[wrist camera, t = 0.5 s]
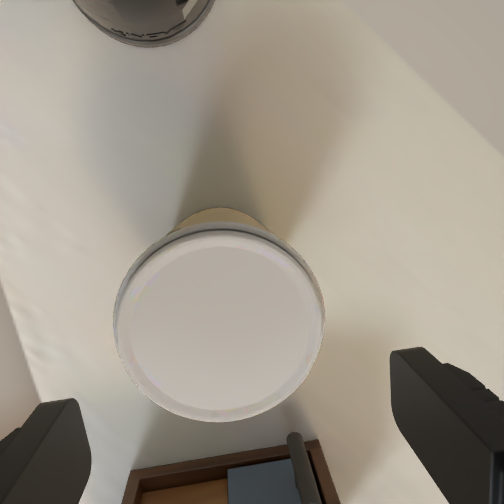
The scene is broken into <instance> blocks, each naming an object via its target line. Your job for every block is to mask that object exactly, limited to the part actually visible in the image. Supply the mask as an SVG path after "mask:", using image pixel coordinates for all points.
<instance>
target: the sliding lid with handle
mask: <svg viewBox="0 0 504 504" xmlns="http://www.w3.org/2000/svg"><path fill="white" fill-rule="evenodd" d="M286 440H287V445H288V449H289V453H290V457H291V459H285V460H279V461H273V462H268V463H262V464H256V465H250V466H244V467H238V468H232V469H228V504H322V502H321V499H320V496H319V492H318V489H317V485H316V482H315V479H314V475H313V472H312V469H311V465H310V462H309V459H308V455H307V452H306V448H305V445H304V442H303V438H302V436H301V434H300V433H298V432H292V433H290V434H289V435H288V436H287V439H286Z"/></svg>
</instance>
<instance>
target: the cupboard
mask: <svg viewBox="0 0 504 504" xmlns="http://www.w3.org/2000/svg"><path fill="white" fill-rule="evenodd" d="M304 445H305V448H306V452H307V455H308V459H309V462H310V465H311V469H312V472H313V475H314V479H315V482H316V485H317V489H318V492H319V496H320V499H321V502H322V504H341V503H340V500H339V497H338V495H337V492H336V489H335V486H334V483H333V480H332V478H331V475H330V472H329V469H328V466H327V463H326V460H325V458H324V455H323V452H322V449H321V446H320V443H319V440H313V441H307V442H304ZM285 459H291V457H290V453H289V449H288V445H283V446H277V447H271V448H265V449H259V450H253V451H247V452H241V453H235V454H229V455H223V456H217V457H211V458H205V459H199V460H194V461H188V462H182V463H176V464H170V465H164V466H158V467H152V468H146V469H140V470H134V471H130V474H129V478H128V482H127V485H126V489H125V492H124V496H123V500H122V503H121V504H228V469H232V468H238V467H244V466H250V465H256V464H262V463H268V462H273V461H279V460H285Z"/></svg>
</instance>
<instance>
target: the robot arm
mask: <svg viewBox="0 0 504 504" xmlns="http://www.w3.org/2000/svg"><path fill="white" fill-rule="evenodd" d="M73 1H74V3H75V4H76V6H77V7H78V8H79V9H80V11H81V12H82V13H83V14H84V15H85V16H86V17H87V18H88V19H89V20H90V21H91V22H92V23H93V24H94V25H95V26H96V27H97V28H98V29H100V30H101V31H102V32H104V33H105V34H107V35H109V36H110V37H112V38H114V39H116V40H118V41H121V42H123V43H126V44H129V45H133V46H139V47H158V46H164V45H168V44H171V43H174V42H176V41H178V40H180V39H182V38H184V37H185V36H187V35H188V34H190V33H191V32H192V31H193V30H195V29H196V28H197V27H198V26H199V25H200V24H201V22H202V21H203V20H204V18H205V17H206V16H207V14H208V12H209V11H210V9H211V7H212V5H213V3H214V0H73ZM390 382H391V406H392V412H393V416H394V419H395V422H396V424H397V426H398V428H399V430H400V432H401V433H402V435H403V436H404V437H405V439H406V440H407V442H408V443H409V445H410V446H411V448H412V449H413V451H414V452H415V454H416V455H417V457H418V458H419V460H420V461H421V462H422V464H423V465H424V467H425V468H426V470H427V471H428V473H429V474H430V476H431V477H432V479H433V480H434V482H435V483H436V485H437V486H438V488H439V489H440V490H441V492H442V493H443V495H444V496H445V498H446V499H447V501H448V502H449V504H504V402H503V401H500V400H499V397H497V396H496V395H495V394H494V393H493V392H491V391H490V390H489V389H486V388H485V386H484V385H483V384H482V383H481V382H479V381H478V380H477V379H476V378H475V377H473V376H472V375H471V374H470V373H468V372H466V371H464V370H462V369H460V368H457V367H455V366H453V365H451V364H449V363H445V364H442V363H441V362H439V361H438V360H437V359H436V358H435V357H434V356H433V355H432V354H430V353H429V352H428V351H427V350H426V349H425V348H423V347H416V348H409V349H402V350H396V351H392V352H391V354H390ZM90 471H91V450H90V446H89V442H88V438H87V434H86V430H85V426H84V423H83V419H82V415H81V411H80V407H79V404H78V402H77V400H75V399H74V398H70V399H64V400H57V401H50V402H44V403H40V404H39V405H38V406H37V407H36V409H35V410H34V411H33V413H32V414H31V415H30V417H29V418H28V419H27V420H26V422H25V423H24V424H23V426H22V427H21V428H16V429H15V430H14V431H13V432H11V433H10V434H9V435H8V436H6V437H5V438H4V439H2V440H1V441H0V504H78V503H79V501H80V498H81V496H82V494H83V491H84V489H85V486H86V484H87V482H88V479H89V476H90Z"/></svg>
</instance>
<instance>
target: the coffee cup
mask: <svg viewBox="0 0 504 504" xmlns="http://www.w3.org/2000/svg"><path fill="white" fill-rule="evenodd" d="M324 328H325V308H324V302H323V297H322V294H321V291H320V287H319V285H318V283H317V280H316V278H315V276H314V274H313V272H312V271H311V269H310V267H309V266H308V265H307V263H306V262H305V261H304V259H303V258H302V257H301V256H300V255H299V254H298V253H297V252H296V251H295V250H294V249H293V248H292V247H291V246H289V245H288V244H287V243H286V242H284V241H283V240H281V239H280V238H278V237H276V236H275V235H273V234H272V233H271V232H270V231H269V230H267V229H266V228H265V227H264V226H262V225H261V224H260V223H259V222H257V221H256V220H255V219H253V218H252V217H250V216H249V215H247V214H245V213H243V212H240V211H237V210H234V209H229V208H210V209H206V210H202V211H200V212H197V213H195V214H193V215H191V216H190V217H188V218H187V219H185V220H184V221H183V222H181V223H180V224H179V225H178V226H177V227H175V228H174V229H173V230H172V231H171V232H170V233H168V234H167V235H166V236H165V237H163V238H162V239H160V240H159V241H157V242H156V243H154V244H153V245H152V246H151V247H149V248H148V249H147V250H146V251H145V252H144V253H143V254H142V255H141V256H140V257H139V258H138V259H137V260H136V261H135V263H134V264H133V265H132V267H131V268H130V269H129V271H128V273H127V274H126V276H125V278H124V280H123V282H122V284H121V287H120V289H119V292H118V295H117V298H116V302H115V308H114V315H113V329H114V338H115V343H116V347H117V350H118V353H119V356H120V358H121V360H122V363H123V365H124V367H125V369H126V371H127V372H128V374H129V376H130V377H131V379H132V381H133V382H134V383H135V384H136V386H137V387H138V388H139V389H140V390H141V391H142V392H143V393H144V394H145V395H146V396H147V397H148V398H149V399H151V400H152V401H153V402H154V403H156V404H157V405H159V406H161V407H162V408H164V409H166V410H168V411H170V412H172V413H174V414H177V415H179V416H182V417H185V418H189V419H193V420H199V421H206V422H228V421H236V420H241V419H245V418H249V417H253V416H256V415H258V414H260V413H263V412H265V411H267V410H269V409H271V408H273V407H274V406H276V405H278V404H279V403H281V402H282V401H283V400H285V399H286V398H287V397H289V396H290V395H291V394H292V393H293V392H294V391H295V390H296V389H297V388H298V387H299V386H300V384H301V383H302V382H303V381H304V379H305V378H306V377H307V375H308V374H309V372H310V370H311V368H312V366H313V364H314V362H315V360H316V358H317V355H318V353H319V350H320V347H321V344H322V340H323V335H324Z"/></svg>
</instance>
